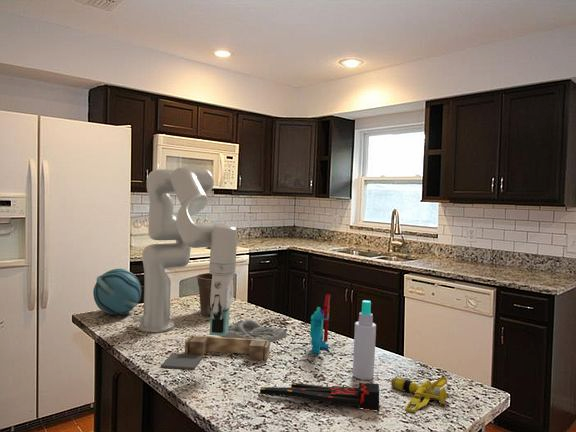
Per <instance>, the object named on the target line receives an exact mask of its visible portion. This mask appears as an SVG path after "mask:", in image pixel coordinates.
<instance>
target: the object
mask: <svg viewBox="0 0 576 432" xmlns="http://www.w3.org/2000/svg"><path fill="white" fill-rule="evenodd" d="M195 277H196V278H197V279H196V280H197V286H198V291H199V306H200V308H199V310H200V314H201V315H202V316H206V317H207V316H211V310H212V308H211V307H210V296H211V283H212V282H211V281H212V274H210V273H209V272H206V273H200V274H196V275H195ZM235 277H236V276H235V274H234V275H233V281H234V279H235ZM220 307H221V306H220ZM230 307H231V305H230V306H229V310H230Z"/></svg>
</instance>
